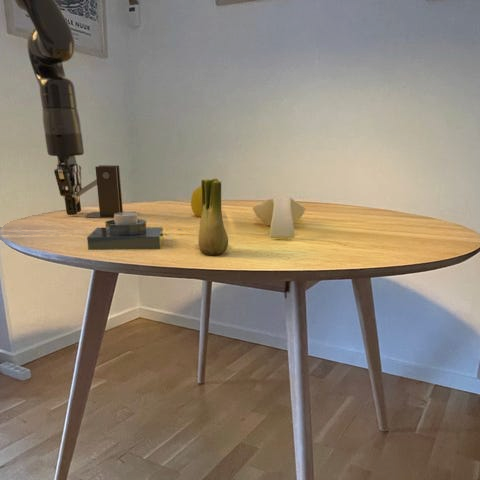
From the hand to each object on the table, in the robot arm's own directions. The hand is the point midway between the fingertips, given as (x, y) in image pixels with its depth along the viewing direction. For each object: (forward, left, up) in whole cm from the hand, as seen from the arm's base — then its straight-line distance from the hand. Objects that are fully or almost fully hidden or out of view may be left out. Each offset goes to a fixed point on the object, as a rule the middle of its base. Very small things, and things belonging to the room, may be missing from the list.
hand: (74, 212), depth 107 cm
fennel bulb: (+30, -35, -2) cm, 46 cm away
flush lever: (+5, 0, +4) cm, 7 cm away
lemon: (+29, -2, -2) cm, 29 cm away
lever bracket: (+8, 0, -2) cm, 8 cm away
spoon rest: (+45, -13, -2) cm, 47 cm away
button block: (+15, -27, -2) cm, 31 cm away
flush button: (+15, -27, +2) cm, 31 cm away
